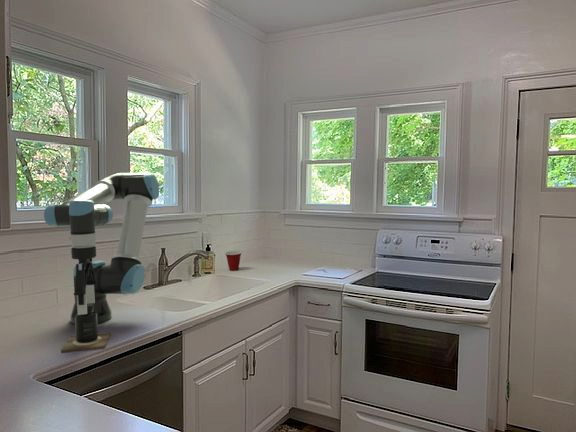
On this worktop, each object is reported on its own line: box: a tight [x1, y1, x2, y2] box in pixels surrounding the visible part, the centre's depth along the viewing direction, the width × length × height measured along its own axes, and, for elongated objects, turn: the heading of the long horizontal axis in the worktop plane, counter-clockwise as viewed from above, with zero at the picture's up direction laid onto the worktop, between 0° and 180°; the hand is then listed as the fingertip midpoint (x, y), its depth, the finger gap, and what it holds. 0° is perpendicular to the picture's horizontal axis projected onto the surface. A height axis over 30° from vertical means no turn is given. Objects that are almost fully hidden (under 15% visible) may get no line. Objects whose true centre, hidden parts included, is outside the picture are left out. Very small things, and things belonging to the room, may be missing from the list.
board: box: [60, 332, 112, 353], centre depth 148 cm, size 14×13×1 cm
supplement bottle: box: [74, 304, 99, 343], centre depth 148 cm, size 7×7×12 cm
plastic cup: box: [224, 250, 242, 272], centre depth 283 cm, size 11×11×12 cm
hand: (86, 308), depth 148 cm, fingers open, 13 cm apart
